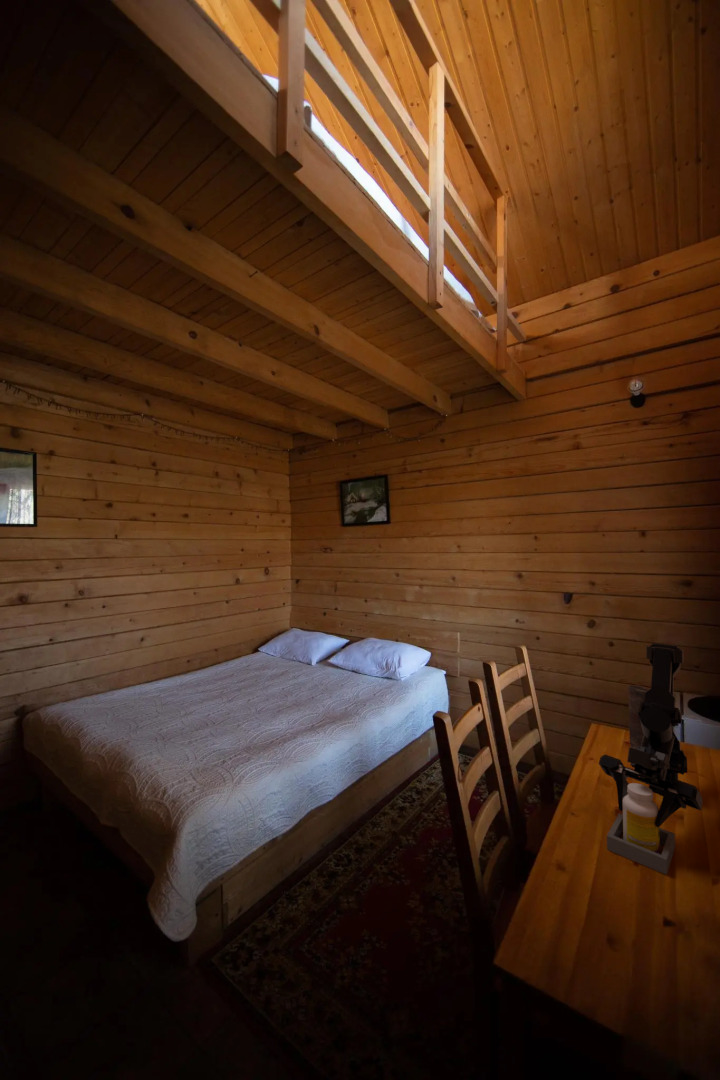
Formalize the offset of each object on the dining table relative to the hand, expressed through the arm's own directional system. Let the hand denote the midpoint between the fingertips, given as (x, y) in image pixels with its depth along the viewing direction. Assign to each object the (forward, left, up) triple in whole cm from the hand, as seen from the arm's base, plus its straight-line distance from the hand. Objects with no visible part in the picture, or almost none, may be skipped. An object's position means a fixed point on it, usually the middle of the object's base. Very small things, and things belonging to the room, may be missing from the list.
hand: (638, 818), depth 93 cm
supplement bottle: (-1, 0, -7) cm, 7 cm away
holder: (-1, 0, -7) cm, 7 cm away
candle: (-53, -9, -7) cm, 54 cm away
